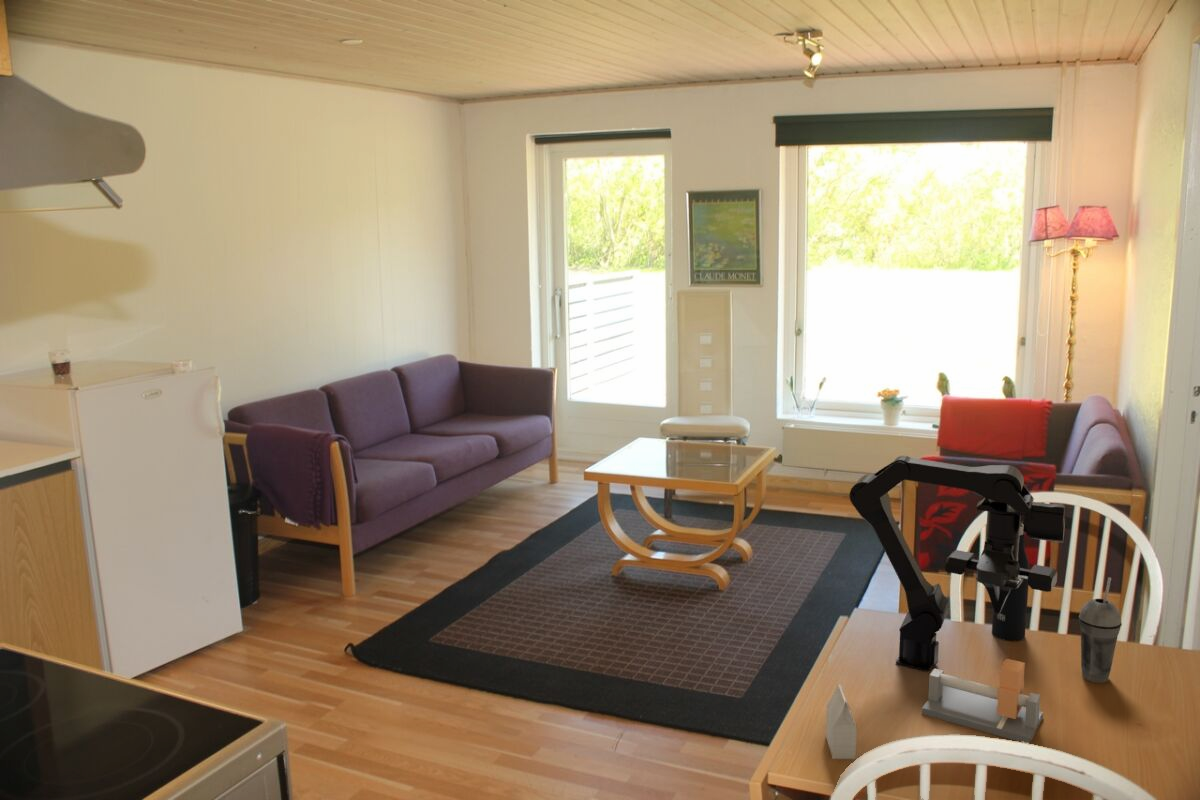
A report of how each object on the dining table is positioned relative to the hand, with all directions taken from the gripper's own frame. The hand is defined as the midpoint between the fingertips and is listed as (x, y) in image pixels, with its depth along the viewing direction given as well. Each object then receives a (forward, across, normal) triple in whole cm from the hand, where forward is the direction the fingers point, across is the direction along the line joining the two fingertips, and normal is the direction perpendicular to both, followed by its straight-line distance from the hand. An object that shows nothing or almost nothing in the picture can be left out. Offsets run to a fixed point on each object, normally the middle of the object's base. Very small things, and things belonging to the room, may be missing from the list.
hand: (997, 612), depth 184 cm
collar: (+11, +6, -16) cm, 20 cm away
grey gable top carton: (+13, -15, -39) cm, 44 cm away
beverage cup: (+13, +16, +10) cm, 23 cm away
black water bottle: (+13, -2, +20) cm, 24 cm away
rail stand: (+13, +2, -16) cm, 21 cm away
